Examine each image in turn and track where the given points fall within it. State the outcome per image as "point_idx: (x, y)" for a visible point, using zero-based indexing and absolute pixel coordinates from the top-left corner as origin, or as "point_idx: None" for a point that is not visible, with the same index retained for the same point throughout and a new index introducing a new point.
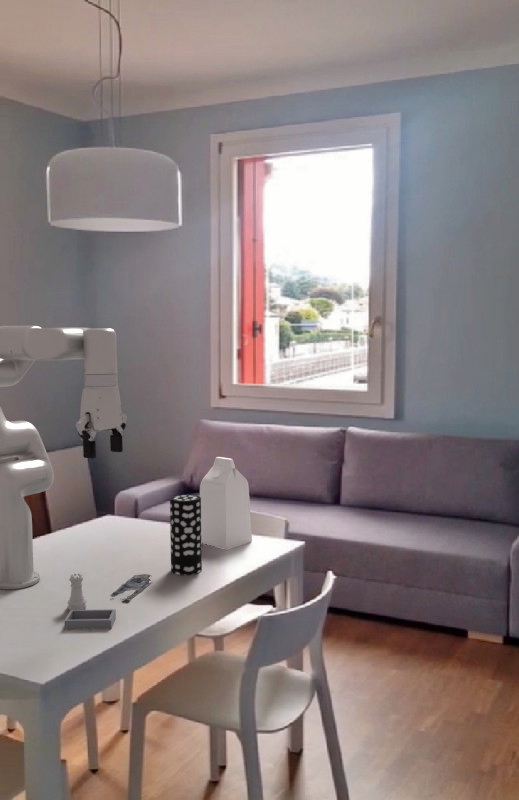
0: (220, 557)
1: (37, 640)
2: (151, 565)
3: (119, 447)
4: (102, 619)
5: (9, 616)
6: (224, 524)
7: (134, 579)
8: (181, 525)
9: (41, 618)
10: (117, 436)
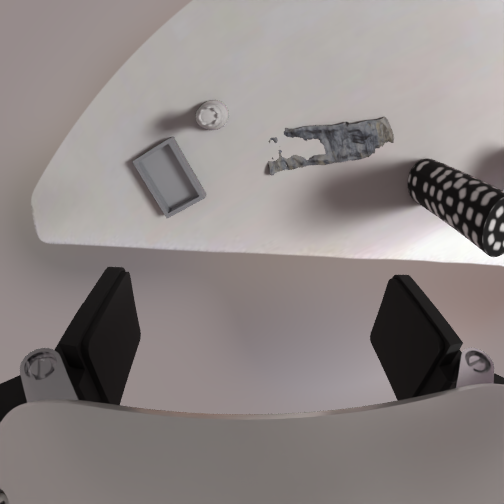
0: None
1: (94, 155)
2: (433, 119)
3: (378, 352)
4: (162, 206)
5: (140, 52)
6: None
7: (358, 132)
8: (453, 214)
9: (153, 97)
10: (409, 396)
